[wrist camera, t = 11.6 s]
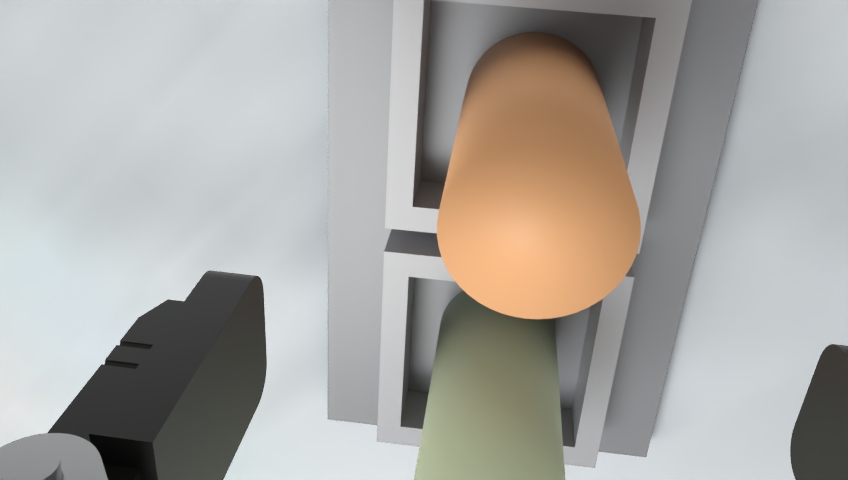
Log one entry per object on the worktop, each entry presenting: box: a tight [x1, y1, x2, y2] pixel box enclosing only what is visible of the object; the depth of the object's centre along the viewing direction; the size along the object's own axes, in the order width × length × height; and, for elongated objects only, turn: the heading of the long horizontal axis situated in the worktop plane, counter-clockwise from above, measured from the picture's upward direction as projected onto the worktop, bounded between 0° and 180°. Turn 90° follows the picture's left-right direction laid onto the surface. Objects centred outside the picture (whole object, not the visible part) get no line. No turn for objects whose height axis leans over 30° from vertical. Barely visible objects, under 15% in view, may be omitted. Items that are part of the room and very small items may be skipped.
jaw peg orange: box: [437, 32, 641, 319], centre depth 20 cm, size 4×4×9 cm
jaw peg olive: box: [414, 291, 565, 480], centre depth 24 cm, size 4×4×9 cm
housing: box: [328, 0, 758, 468], centre depth 25 cm, size 18×12×3 cm, turn 176°
